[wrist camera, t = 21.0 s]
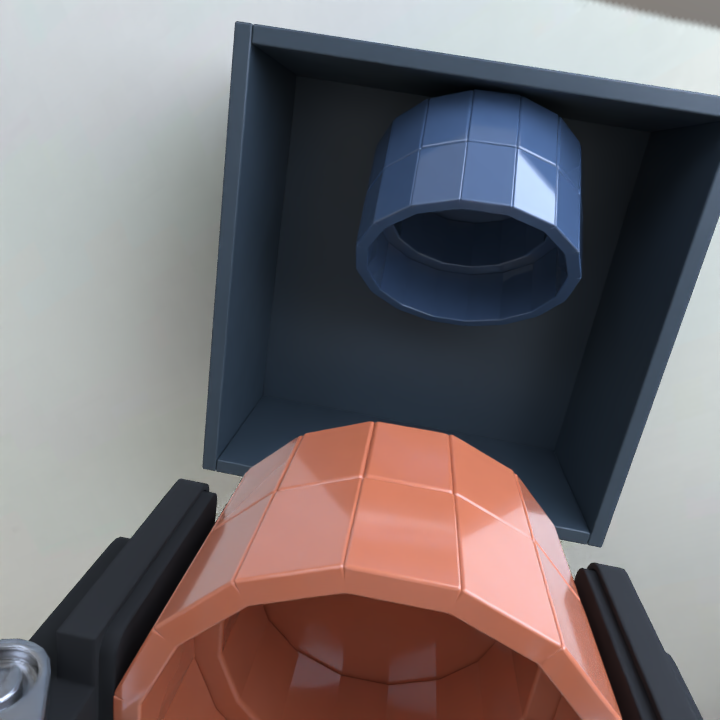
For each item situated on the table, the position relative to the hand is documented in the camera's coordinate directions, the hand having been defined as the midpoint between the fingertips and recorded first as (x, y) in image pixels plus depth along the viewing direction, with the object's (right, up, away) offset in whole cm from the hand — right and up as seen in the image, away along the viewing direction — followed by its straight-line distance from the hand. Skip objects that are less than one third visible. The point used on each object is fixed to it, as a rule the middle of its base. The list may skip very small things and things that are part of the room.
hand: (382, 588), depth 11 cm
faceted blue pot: (+4, +11, +9) cm, 14 cm away
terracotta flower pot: (0, 0, +1) cm, 1 cm away
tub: (+3, +8, +13) cm, 15 cm away
